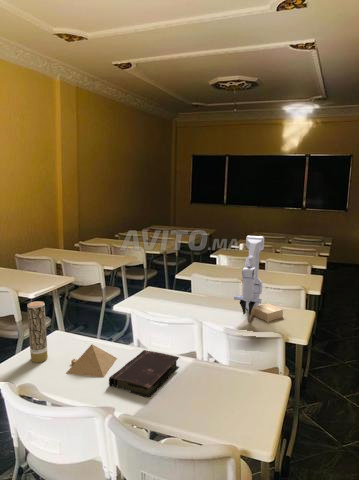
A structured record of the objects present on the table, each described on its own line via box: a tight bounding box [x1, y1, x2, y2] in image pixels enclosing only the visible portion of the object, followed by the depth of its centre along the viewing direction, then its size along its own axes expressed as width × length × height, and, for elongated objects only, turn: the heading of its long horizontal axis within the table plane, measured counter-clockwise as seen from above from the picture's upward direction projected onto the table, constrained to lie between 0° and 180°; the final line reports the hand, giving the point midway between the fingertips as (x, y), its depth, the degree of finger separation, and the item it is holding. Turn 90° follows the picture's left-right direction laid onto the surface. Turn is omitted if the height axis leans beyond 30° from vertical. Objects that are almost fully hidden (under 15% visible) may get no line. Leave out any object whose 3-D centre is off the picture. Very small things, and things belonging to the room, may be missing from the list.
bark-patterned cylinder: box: [26, 300, 48, 363], centre depth 163 cm, size 7×7×25 cm
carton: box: [253, 303, 284, 322], centre depth 216 cm, size 11×12×4 cm
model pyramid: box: [65, 343, 118, 378], centre depth 160 cm, size 17×17×10 cm
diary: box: [108, 349, 180, 398], centre depth 152 cm, size 19×25×5 cm
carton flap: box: [247, 308, 254, 323], centre depth 210 cm, size 13×1×7 cm, turn 160°
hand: (247, 314), depth 206 cm, fingers open, 2 cm apart
